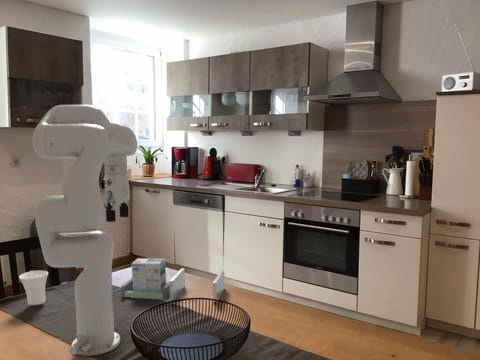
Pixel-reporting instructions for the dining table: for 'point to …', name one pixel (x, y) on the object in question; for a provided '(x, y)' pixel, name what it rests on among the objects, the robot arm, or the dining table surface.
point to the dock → (128, 292)
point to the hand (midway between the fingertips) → (117, 219)
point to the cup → (34, 286)
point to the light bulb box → (148, 275)
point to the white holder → (179, 283)
